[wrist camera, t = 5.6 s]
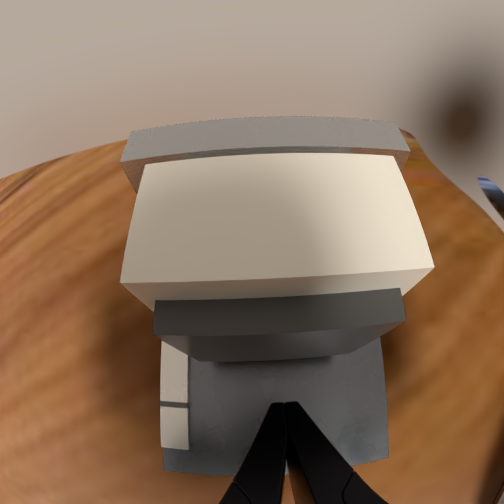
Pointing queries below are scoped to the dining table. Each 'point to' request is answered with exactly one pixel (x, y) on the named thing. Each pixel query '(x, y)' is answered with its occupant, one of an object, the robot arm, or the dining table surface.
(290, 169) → the block
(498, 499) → the tin
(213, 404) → the base
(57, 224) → the dining table surface
